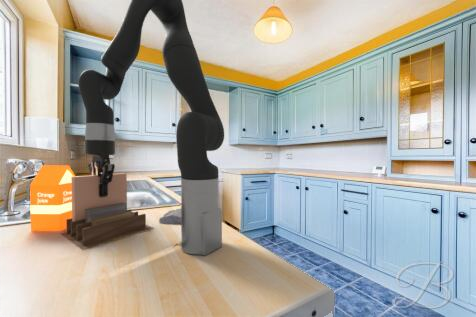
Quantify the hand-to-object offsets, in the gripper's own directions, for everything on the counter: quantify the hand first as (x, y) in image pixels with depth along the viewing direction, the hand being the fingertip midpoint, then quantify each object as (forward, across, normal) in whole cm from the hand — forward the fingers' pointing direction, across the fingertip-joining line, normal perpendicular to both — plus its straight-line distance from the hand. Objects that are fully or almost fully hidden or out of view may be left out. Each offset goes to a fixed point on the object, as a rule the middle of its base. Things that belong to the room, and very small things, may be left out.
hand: (101, 195), depth 63 cm
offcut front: (+10, -8, 0) cm, 13 cm away
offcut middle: (+10, -4, 0) cm, 10 cm away
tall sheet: (+10, 0, 0) cm, 10 cm away
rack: (+11, -5, 0) cm, 12 cm away
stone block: (+11, -12, -19) cm, 25 cm away
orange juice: (+11, +12, +8) cm, 18 cm away
